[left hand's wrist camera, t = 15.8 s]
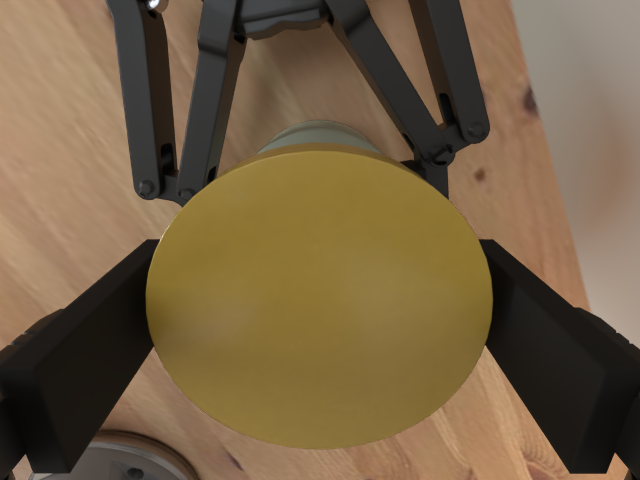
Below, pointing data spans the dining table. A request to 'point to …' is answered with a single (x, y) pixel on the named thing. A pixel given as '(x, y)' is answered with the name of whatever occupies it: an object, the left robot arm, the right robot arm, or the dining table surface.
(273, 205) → the lid
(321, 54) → the dining table surface
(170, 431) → the dining table surface
